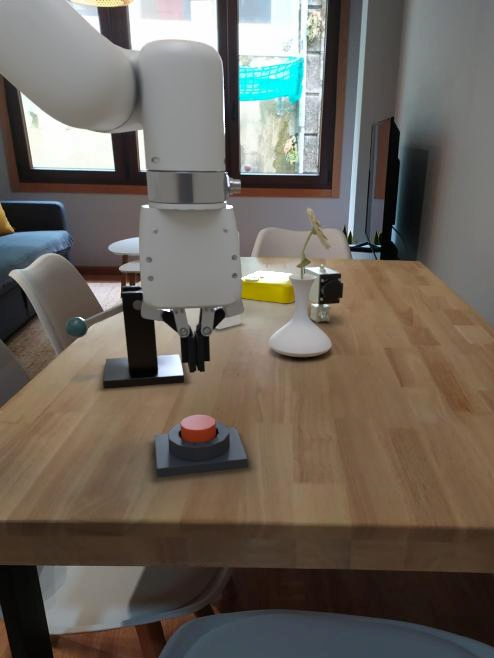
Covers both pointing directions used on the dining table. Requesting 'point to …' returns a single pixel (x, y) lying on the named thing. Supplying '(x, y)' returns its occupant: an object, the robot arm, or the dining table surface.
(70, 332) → the tap lever
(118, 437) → the dining table surface
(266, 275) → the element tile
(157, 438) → the button housing
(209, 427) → the button
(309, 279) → the flower in vase
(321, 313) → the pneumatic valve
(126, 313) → the lever base
